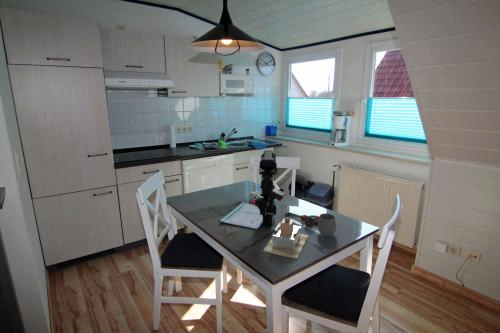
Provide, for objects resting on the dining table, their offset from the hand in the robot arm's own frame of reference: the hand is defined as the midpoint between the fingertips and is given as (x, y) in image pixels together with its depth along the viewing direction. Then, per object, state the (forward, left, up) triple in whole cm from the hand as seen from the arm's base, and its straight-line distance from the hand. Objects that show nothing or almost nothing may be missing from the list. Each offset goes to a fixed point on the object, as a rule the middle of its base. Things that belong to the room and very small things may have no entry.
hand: (267, 213), depth 149 cm
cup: (-12, +28, -12) cm, 33 cm away
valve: (-25, +15, -13) cm, 32 cm away
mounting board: (+5, +12, -12) cm, 18 cm away
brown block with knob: (+5, +12, -5) cm, 14 cm away
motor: (+3, +12, -11) cm, 17 cm away
